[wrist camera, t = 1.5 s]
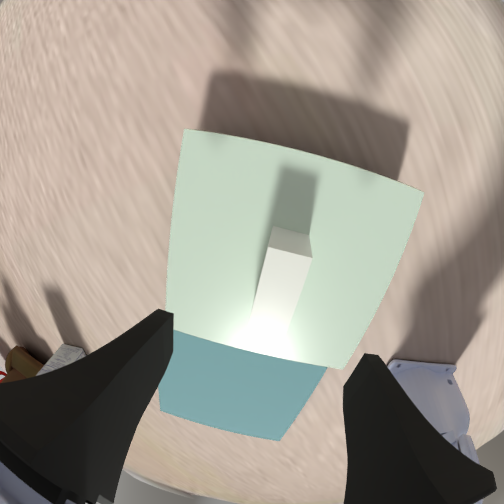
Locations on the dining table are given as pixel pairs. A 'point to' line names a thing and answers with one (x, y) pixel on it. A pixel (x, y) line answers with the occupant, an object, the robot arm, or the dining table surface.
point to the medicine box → (62, 358)
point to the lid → (281, 247)
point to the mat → (235, 387)
